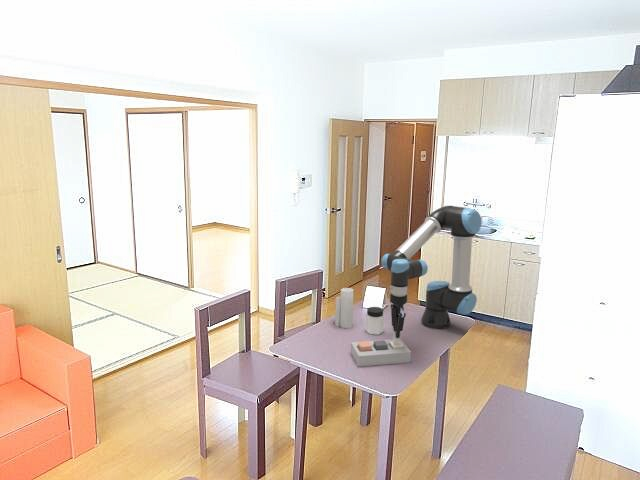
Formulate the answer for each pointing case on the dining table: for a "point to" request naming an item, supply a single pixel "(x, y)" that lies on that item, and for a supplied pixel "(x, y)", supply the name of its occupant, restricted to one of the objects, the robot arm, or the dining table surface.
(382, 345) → the charcoal key
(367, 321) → the jar
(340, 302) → the grey stepped double column
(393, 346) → the ivory key
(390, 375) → the dining table surface
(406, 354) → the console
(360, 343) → the terracotta key
